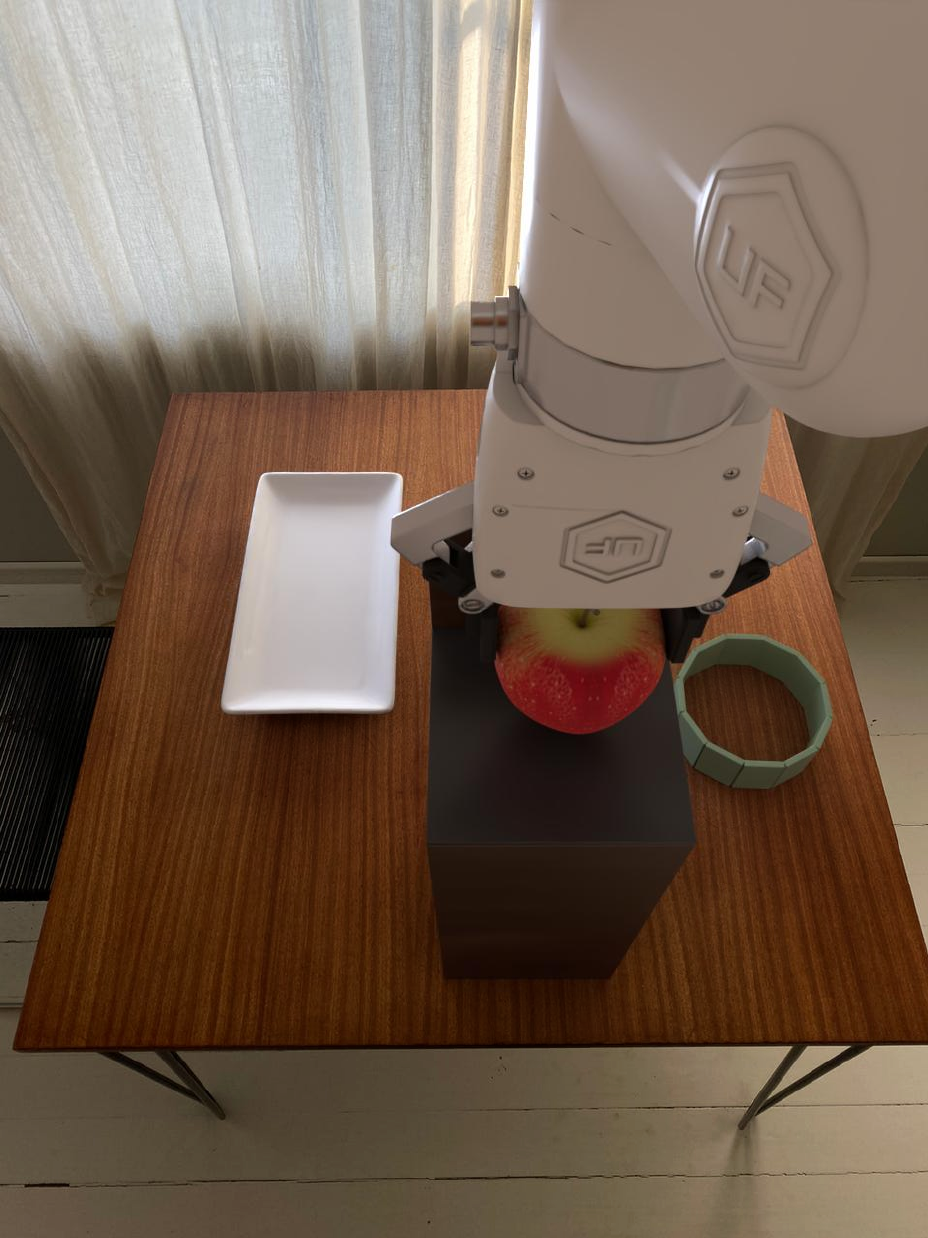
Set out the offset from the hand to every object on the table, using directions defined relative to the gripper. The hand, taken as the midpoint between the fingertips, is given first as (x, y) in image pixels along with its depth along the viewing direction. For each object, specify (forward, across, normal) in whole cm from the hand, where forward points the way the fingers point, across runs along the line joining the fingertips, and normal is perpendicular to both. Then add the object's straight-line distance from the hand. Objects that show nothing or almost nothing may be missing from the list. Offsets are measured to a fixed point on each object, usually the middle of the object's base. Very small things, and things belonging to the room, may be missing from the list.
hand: (579, 636), depth 42 cm
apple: (+6, 0, 0) cm, 6 cm away
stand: (+43, 0, 0) cm, 43 cm away
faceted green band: (+43, +22, +17) cm, 51 cm away
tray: (+43, -21, +32) cm, 58 cm away
